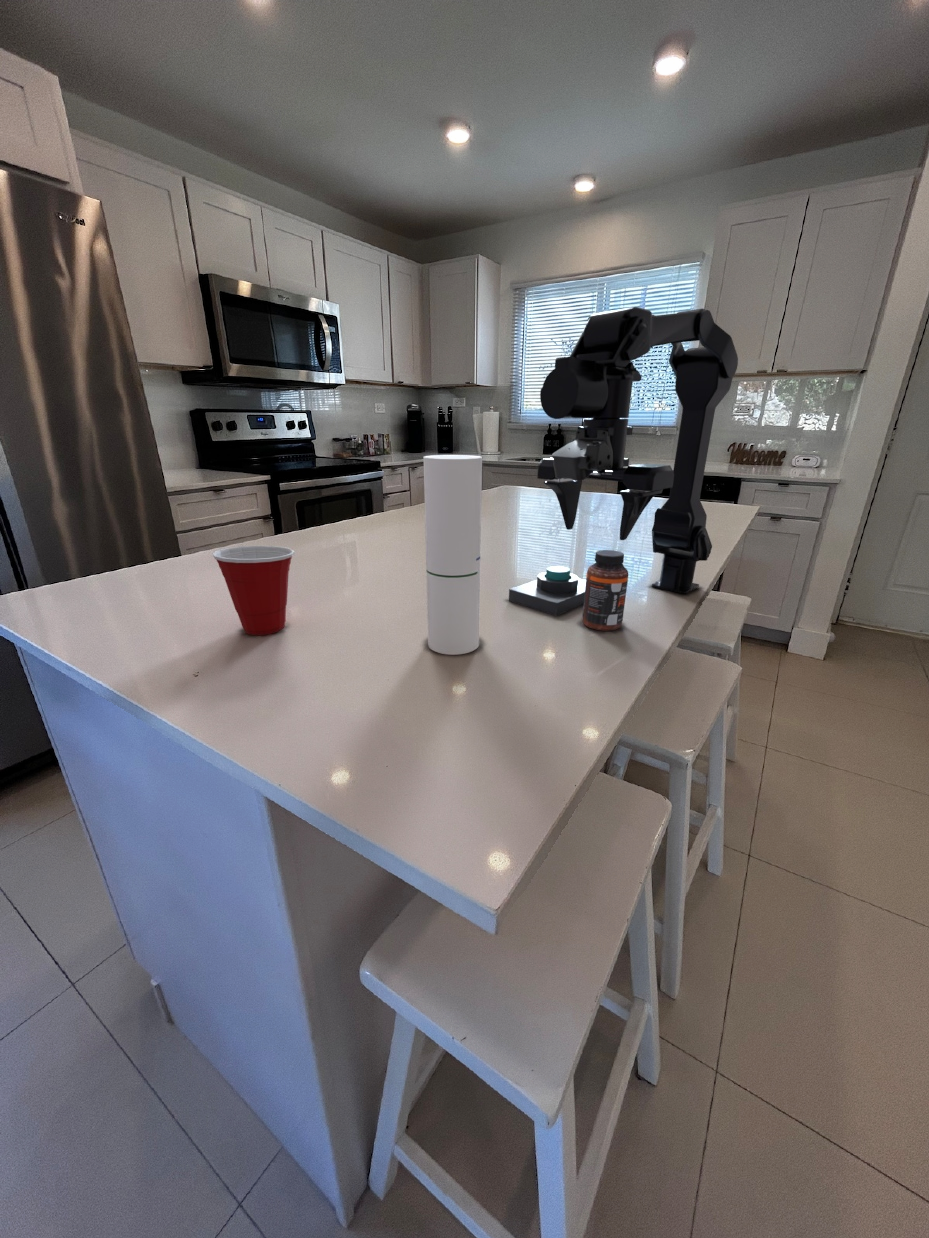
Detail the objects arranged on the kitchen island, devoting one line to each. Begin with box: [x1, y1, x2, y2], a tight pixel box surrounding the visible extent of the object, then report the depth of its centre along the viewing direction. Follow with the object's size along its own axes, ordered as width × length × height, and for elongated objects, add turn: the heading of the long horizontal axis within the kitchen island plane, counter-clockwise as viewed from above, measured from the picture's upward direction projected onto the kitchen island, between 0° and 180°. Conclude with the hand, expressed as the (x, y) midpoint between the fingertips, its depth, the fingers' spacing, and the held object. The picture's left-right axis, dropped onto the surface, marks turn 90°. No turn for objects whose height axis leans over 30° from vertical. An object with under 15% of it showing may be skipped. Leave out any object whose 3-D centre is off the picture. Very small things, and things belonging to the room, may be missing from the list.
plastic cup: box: [212, 545, 296, 636], centre depth 74 cm, size 11×11×12 cm
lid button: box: [545, 565, 571, 581], centre depth 87 cm, size 4×4×2 cm
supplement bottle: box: [581, 549, 629, 632], centre depth 76 cm, size 6×6×11 cm
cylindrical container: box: [423, 454, 483, 656], centre depth 66 cm, size 7×7×25 cm
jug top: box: [508, 571, 586, 617], centre depth 88 cm, size 14×10×4 cm
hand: (595, 534), depth 74 cm, fingers open, 9 cm apart
